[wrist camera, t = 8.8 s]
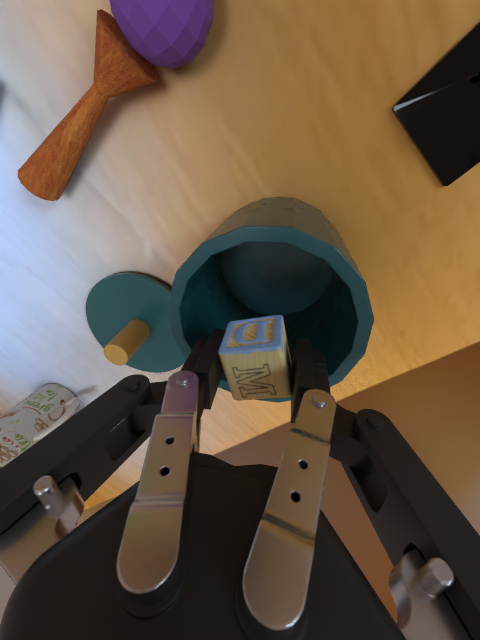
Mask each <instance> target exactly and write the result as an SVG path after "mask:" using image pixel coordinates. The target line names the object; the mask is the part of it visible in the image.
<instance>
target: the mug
mask: <svg viewBox="0 0 480 640" xmlns="http://www.w3.org/2000/svg"><path fill="white" fill-rule="evenodd" d="M79 404H80V399H79V398H78V397H75V396H74V395H73V393H71V392H70V391H69V390H68V389H66V388H64V387H63V386H60V385H57V384H46V385H44V386H43V387H41V388H40V389H38V390H37V391H36V392H34V393H33V394H31V395H30V396H29V397H27V398H26V399H24V400H23V401H21V402H20V403H19V404H17V405H16V406H14V407H13V408H12V409H10V410H9V411H7V412H6V413H5V414H3V415H2V416H0V469H1V468H2V467H4V466H5V465H6V464H8V463H9V462H10V461H12V460H13V459H14V458H16V457H17V456H19V455H20V454H21V453H23V452H24V451H25V450H27V449H28V448H30V447H31V446H32V445H34V444H35V443H36V442H38V441H39V440H40V439H42V438H43V437H45V436H46V435H47V434H49V433H50V432H51V431H53V430H54V429H56V428H57V427H58V426H60V425H61V424H62V423H64V422H65V421H66V420H68V419H69V418H71V417H72V415H73V414H74V412H75V411H76V409H77V407H78V406H79Z"/></svg>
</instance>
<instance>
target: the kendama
mask: <svg viewBox="0 0 480 640" xmlns="http://www.w3.org/2000/svg"><path fill="white" fill-rule="evenodd" d="M110 5H111V10H112V14H113V16H114V18H113V17H112V16H111V15H110V14H108V13H107V12H105V11H103V10H102V9H101V10H97V26H96V46H95V66H94V84H93V85H92V86H91V88H90V89H89V90H88V91H87V92H86V93H85V95H84V96H83V97H82V98H81V99H80V100H79V101H78V103H77V104H76V105H75V106H74V107H73V108H72V109H71V111H70V112H69V113H68V114H67V115H66V116H65V117H64V119H63V120H62V121H61V122H60V123H59V124H58V125H57V127H56V128H55V129H54V130H53V131H52V132H51V133H50V135H49V136H48V137H47V138H46V139H45V140H44V142H43V143H42V144H41V145H40V146H39V147H38V148H37V150H36V151H35V152H34V153H33V154H32V155H31V156H30V158H29V159H28V160H27V161H26V162H25V163H24V164H23V166H22V167H21V168H20V169H19V170H18V178H19V180H20V182H21V184H22V185H23V186H24V187H25V188H26V189H27V190H28V191H30V192H31V193H33V194H34V195H35V196H37V197H40V198H42V199H44V200H50V201H54V200H58V199H59V198H60V197H61V195H62V193H63V191H64V189H65V187H66V185H67V182H68V180H69V178H70V176H71V174H72V172H73V170H74V168H75V166H76V164H77V162H78V160H79V158H80V156H81V154H82V152H83V150H84V148H85V146H86V144H87V142H88V140H89V137H90V135H91V133H92V131H93V129H94V127H95V125H96V123H97V121H98V119H99V117H100V115H101V113H102V111H103V109H104V107H105V105H106V103H107V101H108V99H109V98H112V97H115V96H118V95H120V94H123V93H126V92H128V91H131V90H134V89H137V88H139V87H142V86H145V85H148V84H150V83H153V82H155V81H156V80H157V76H156V72H155V70H154V68H153V66H152V64H154V65H156V66H160V67H167V68H173V69H175V68H178V67H180V66H182V65H185V64H187V63H189V62H191V61H192V60H193V59H194V57H195V56H196V55H197V54H198V52H199V51H200V50H201V49H202V47H203V46H204V44H205V41H206V38H207V35H208V32H209V29H210V26H211V23H212V17H213V0H110ZM151 63H152V64H151Z"/></svg>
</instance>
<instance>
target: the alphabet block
mask: <svg viewBox="0 0 480 640" xmlns="http://www.w3.org/2000/svg"><path fill="white" fill-rule="evenodd" d="M218 356H219V358H220V361H221V364H222V367H223V370H224V373H225V376H226V379H227V381H228V384H229V387H230V390H231V393H232V396H233V398H234V399H235V400H253V399H265V398H280V397H282V398H284V397H289V396H291V393H292V388H291V386H292V385H291V358H290V352H289V347H288V342H287V337H286V331H285V326H284V321H283V316H282V315H271V316H265V317H259V318H251V319H244V320H236V321H231V322H229V323H228V325H227V328H226V332H225V334H224V337H223V340H222V343H221V345H220V348H219V351H218Z"/></svg>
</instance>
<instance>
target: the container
mask: <svg viewBox="0 0 480 640" xmlns="http://www.w3.org/2000/svg"><path fill="white" fill-rule="evenodd" d="M167 309H168V315H169V320H170V326H171V332H172V337H173V339H174V341H175V342H176V344H177V345H178V347H179V349H180V350H181V352H182V354H183V355H184V357H185V358H186V360H187V358H188V356H189V354H190V352H191V350H192V349H193V347H194V345H195V343H196V341H197V340H199V339H200V338H201V337H203V336H205V337H209V336H210V334H211V332H212V330H213V329H223V330H226V328H227V325H228V323H229V322H231V321H236V320H244V319H251V318H259V317H265V316H271V315H282V316H283V321H284V326H285V331H286V337H287V342H288V347H289V352H290V358H291V385H292V364H293V357H294V351H295V345H296V339H297V338H298V339H306V340H311V345H312V350H318V351H321V352H322V354H323V355H324V356H325V358H326V366H327V372H328V379H329V386H330V387H331V386H333V385H335V384H337V383H339V382H341V381H342V380H343V379H344V378H345V376H346V375H347V374H348V373H349V372H350V371H351V369H352V368H353V367H354V366H355V365H356V364H357V362H358V361H359V360H360V359H361V358H362V357H363V355H364V354H365V351H366V348H367V344H368V340H369V337H370V333H371V329H372V325H373V322H374V317H373V312H372V308H371V304H370V300H369V295H368V291H367V287H366V282H365V280H364V279H363V277H362V275H361V273H360V271H359V270H358V268H357V266H356V264H355V262H354V261H353V259H352V257H351V255H350V253H349V252H348V250H347V248H346V246H345V244H344V242H343V241H342V239H341V237H340V235H339V233H338V232H337V230H336V229H335V228H334V227H333V225H332V224H331V223H330V222H329V220H328V219H327V218H326V217H325V216H324V215H323V214H322V212H321V211H319V210H318V209H316V208H314V207H312V206H311V205H309V204H307V203H305V202H302V201H299V200H297V199H294V198H283V197H275V198H263V199H261V200H259V201H256V202H253V203H251V204H249V205H247V206H245V207H243V208H241V209H239V210H237V211H236V212H235V213H234V214H233V215H232V216H231V217H230V218H229V219H228V220H227V221H226V222H224V223H223V224H222V225H221V226H220V227H219V228H218V229H217V230H216V231H215V232H214V233H212V234H211V235H210V236H209V237H208V238H207V239H206V240H205V241H204V242H203V243H202V244H201V245H200V246H199V247H198V248H197V249H196V250H195V251H194V252H193V254H192V255H191V256H190V257H189V258H188V259H187V260H186V261H185V263H184V264H183V265H182V266H181V267H180V268H179V269H178V270H177V272H176V274H175V278H174V282H173V285H172V289H171V293H170V296H169V300H168V303H167ZM218 387H219V388H222V389H224V390H227V391H229V392H231V390H230V387H229V384H228V381H227V379H226V376H225V373H224V370H223V373H222V376H221V379H220V382H219V385H218ZM254 400H263V401H271V402H283V401H289V400H291V396H289V397H284V398H282V397H280V398H265V399H254Z"/></svg>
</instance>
